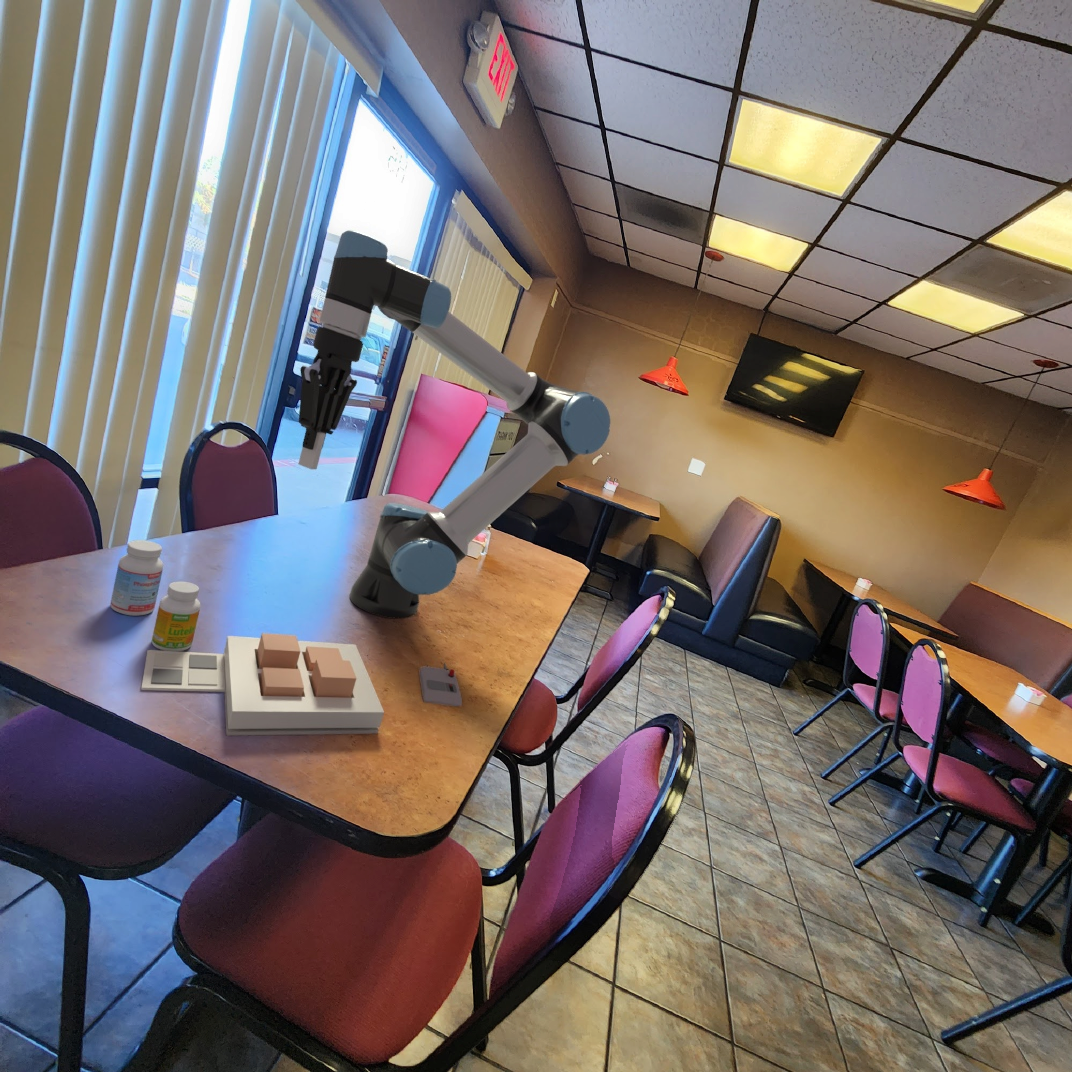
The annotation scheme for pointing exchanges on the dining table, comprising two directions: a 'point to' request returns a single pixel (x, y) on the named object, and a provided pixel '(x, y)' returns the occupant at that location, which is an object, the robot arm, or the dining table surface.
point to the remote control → (440, 686)
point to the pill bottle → (138, 579)
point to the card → (183, 671)
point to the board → (294, 713)
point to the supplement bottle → (177, 617)
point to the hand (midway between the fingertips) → (307, 466)
